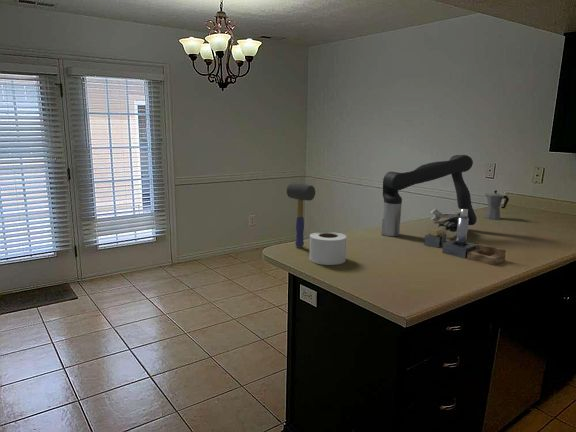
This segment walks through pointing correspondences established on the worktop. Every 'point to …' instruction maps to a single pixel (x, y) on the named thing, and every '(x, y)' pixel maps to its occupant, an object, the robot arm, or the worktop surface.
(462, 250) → the socket block
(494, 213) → the coffeepot
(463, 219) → the metal spray bottle
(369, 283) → the worktop surface
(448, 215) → the wrench
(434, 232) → the tan flat block
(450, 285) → the worktop surface
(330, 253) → the white toilet paper roll
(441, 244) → the guide
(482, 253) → the brown hollowed block
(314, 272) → the worktop surface
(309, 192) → the rubber mallet
